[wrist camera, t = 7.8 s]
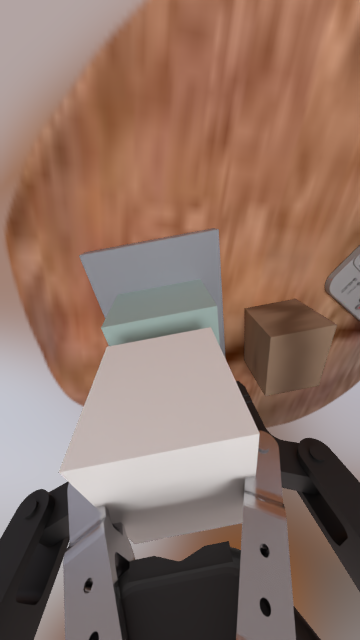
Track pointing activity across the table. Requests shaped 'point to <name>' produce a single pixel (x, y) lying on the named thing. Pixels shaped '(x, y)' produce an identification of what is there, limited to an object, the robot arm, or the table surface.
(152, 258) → the baseplate
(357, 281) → the handheld gaming console
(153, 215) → the table surface
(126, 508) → the cream brick
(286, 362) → the walnut brick
